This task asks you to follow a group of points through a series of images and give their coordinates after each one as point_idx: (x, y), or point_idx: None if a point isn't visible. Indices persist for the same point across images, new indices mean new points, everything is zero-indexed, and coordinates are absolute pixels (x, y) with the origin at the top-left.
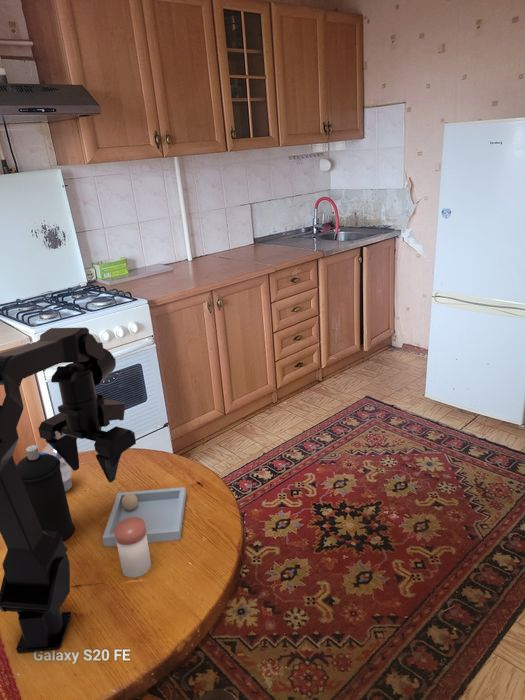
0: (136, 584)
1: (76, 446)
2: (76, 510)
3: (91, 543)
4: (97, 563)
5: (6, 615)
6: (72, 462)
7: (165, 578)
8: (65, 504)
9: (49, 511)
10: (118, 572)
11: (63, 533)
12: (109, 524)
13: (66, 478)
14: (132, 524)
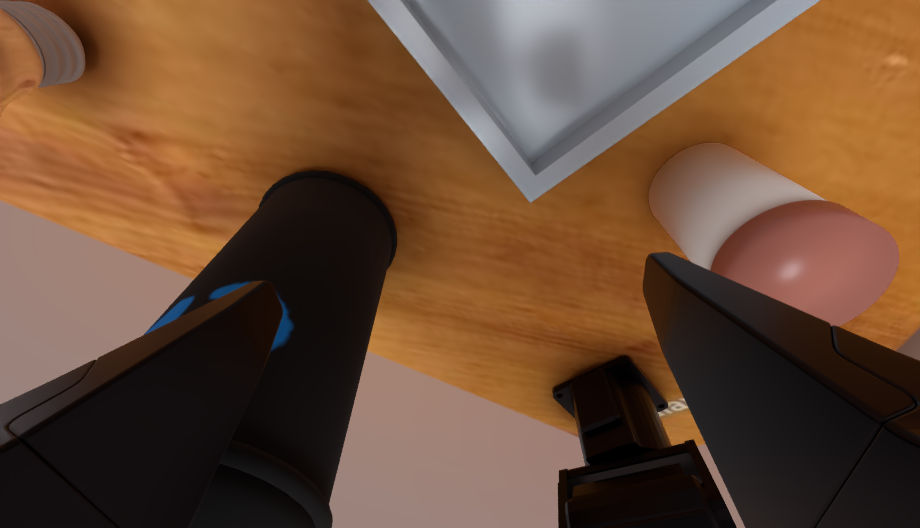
0: None
1: (94, 407)
2: (245, 102)
3: (463, 189)
4: (554, 233)
5: (496, 402)
6: (246, 370)
7: (819, 167)
8: (347, 276)
9: (366, 351)
10: (644, 225)
11: (386, 250)
12: (491, 137)
13: (27, 52)
14: (818, 269)
